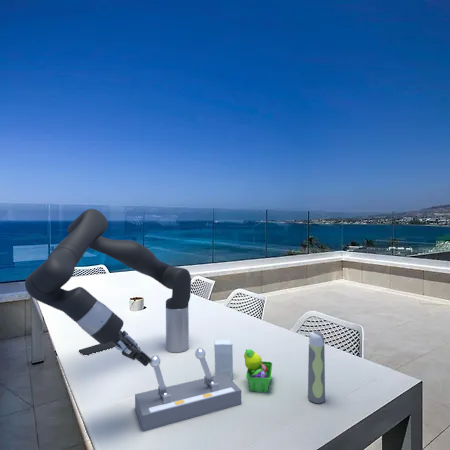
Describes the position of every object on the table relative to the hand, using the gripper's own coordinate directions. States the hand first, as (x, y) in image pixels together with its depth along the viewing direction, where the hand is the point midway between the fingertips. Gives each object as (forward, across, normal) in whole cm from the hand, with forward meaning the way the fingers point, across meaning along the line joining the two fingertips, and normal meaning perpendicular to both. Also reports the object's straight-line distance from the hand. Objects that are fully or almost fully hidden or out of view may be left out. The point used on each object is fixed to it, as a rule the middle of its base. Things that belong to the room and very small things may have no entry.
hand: (147, 362), depth 87 cm
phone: (+4, +55, +17) cm, 58 cm away
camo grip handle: (+43, -12, -23) cm, 50 cm away
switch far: (+20, 0, -7) cm, 21 cm away
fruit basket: (+35, +3, -15) cm, 39 cm away
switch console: (+19, 0, +2) cm, 19 cm away
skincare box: (+30, +12, -9) cm, 33 cm away
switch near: (+10, 0, +4) cm, 11 cm away
